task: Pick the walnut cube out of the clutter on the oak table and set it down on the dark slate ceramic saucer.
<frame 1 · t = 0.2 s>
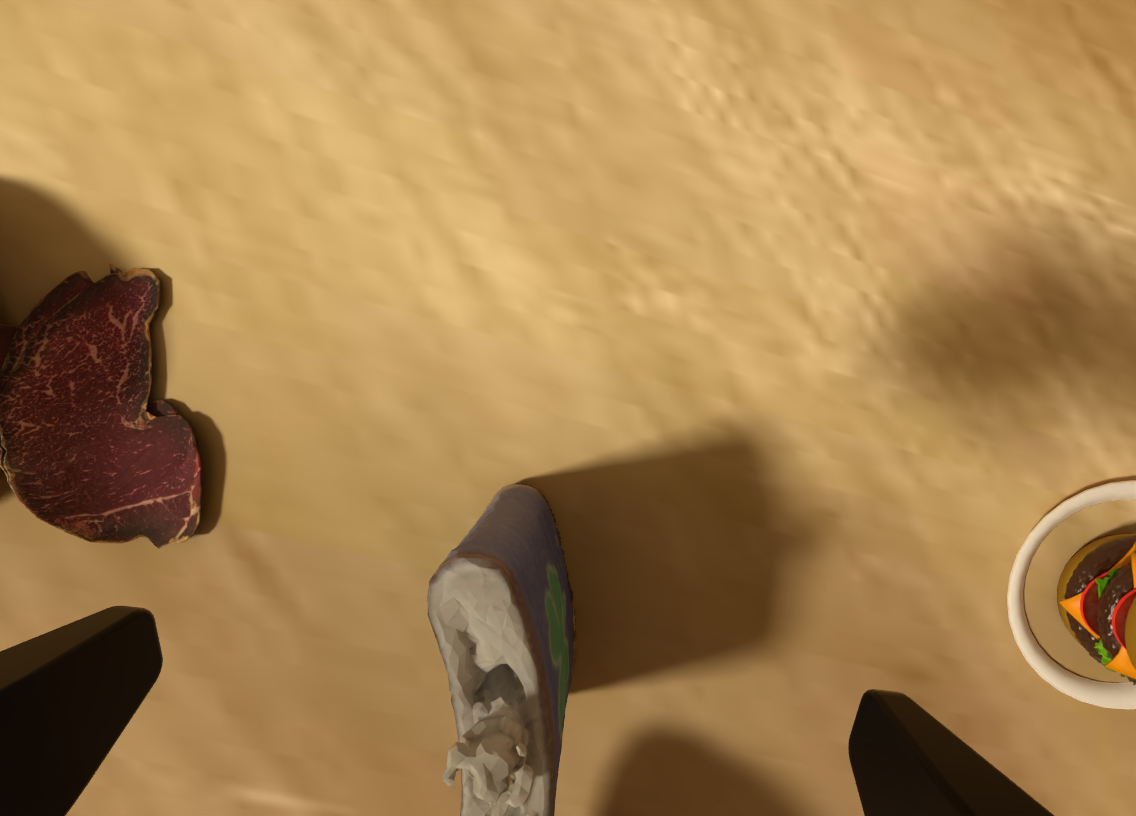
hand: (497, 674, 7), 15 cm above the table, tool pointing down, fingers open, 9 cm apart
flask: (535, 589, 23), on the table
hamburger: (1101, 583, 22), on the table
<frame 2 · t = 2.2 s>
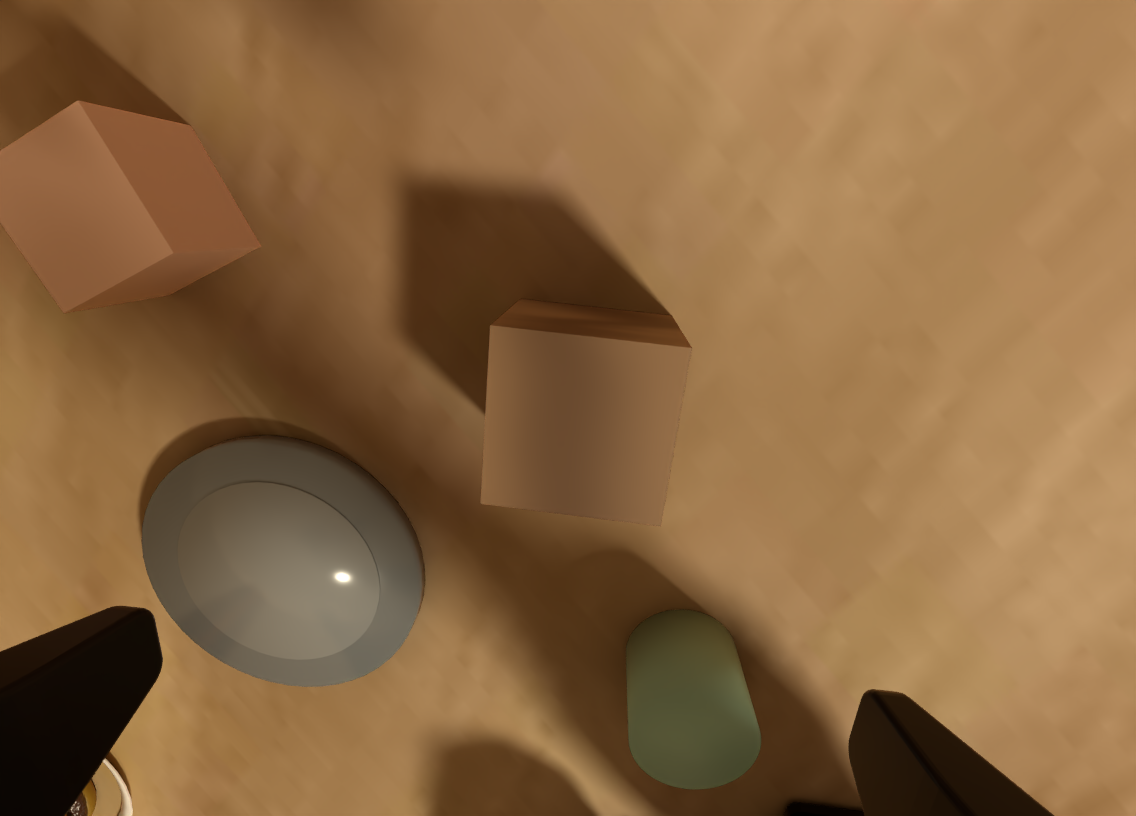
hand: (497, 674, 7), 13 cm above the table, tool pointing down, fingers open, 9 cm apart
saucer: (290, 562, 23), on the table
terracotta block: (180, 214, 19), on the table
green tin: (680, 654, 23), on the table
walnut block: (587, 379, 19), on the table
hamburger: (67, 765, 29), on the table
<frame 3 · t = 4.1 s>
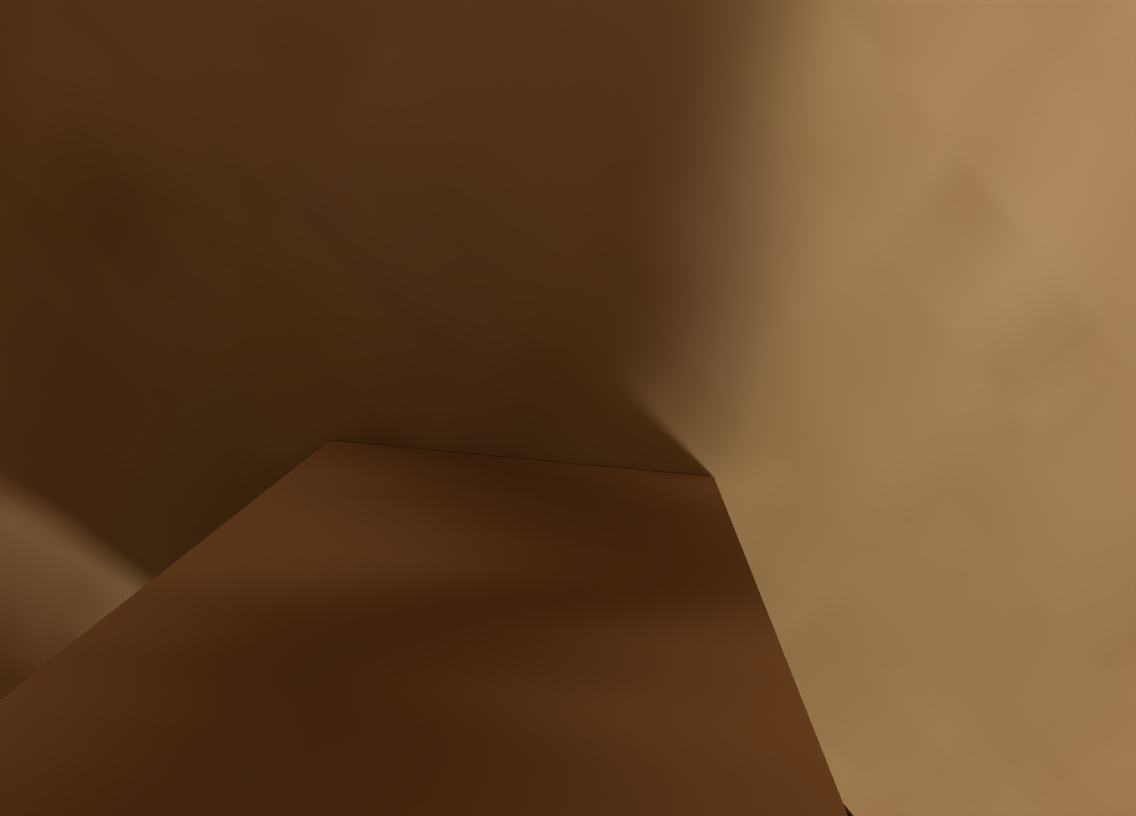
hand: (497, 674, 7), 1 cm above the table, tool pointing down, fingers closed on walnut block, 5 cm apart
walnut block: (511, 618, 8), on the table, touching gripper
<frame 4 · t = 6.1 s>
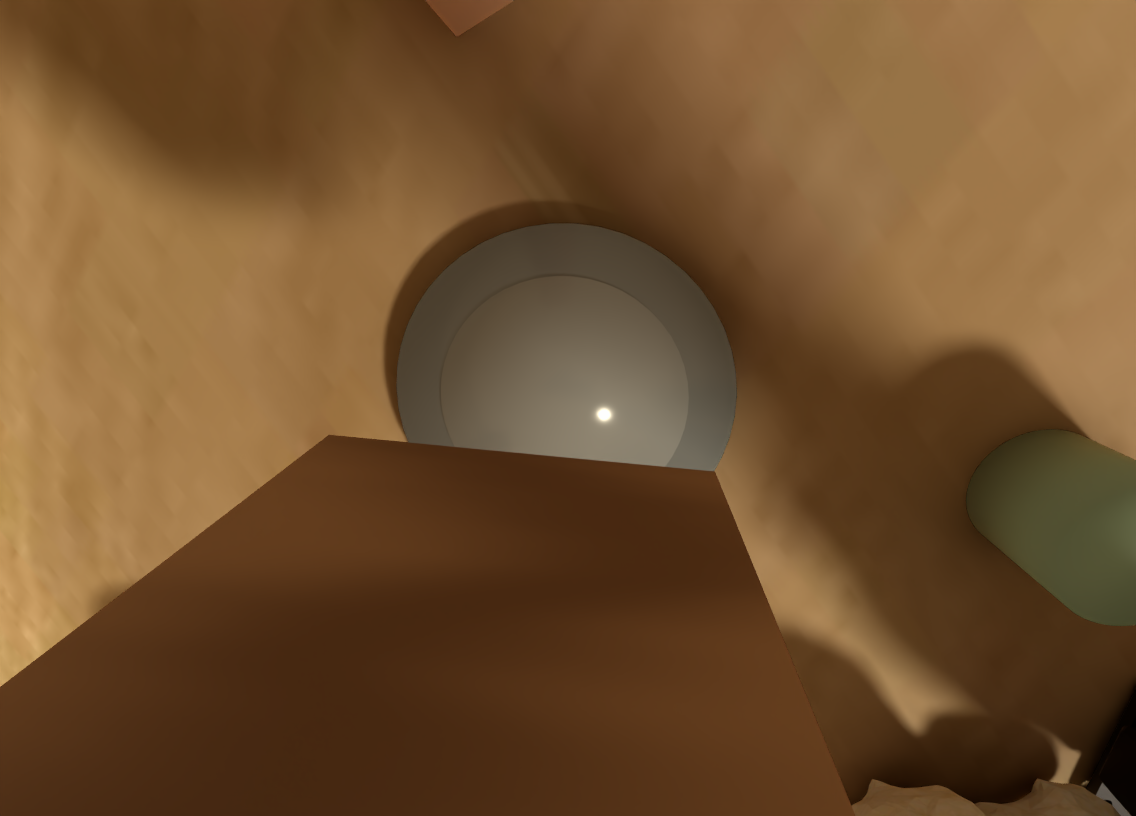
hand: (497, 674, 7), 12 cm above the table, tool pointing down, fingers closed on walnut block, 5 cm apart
saucer: (564, 394, 19), on the table
green tin: (1035, 490, 19), on the table
walnut block: (511, 613, 8), point 11 cm above the table, touching gripper
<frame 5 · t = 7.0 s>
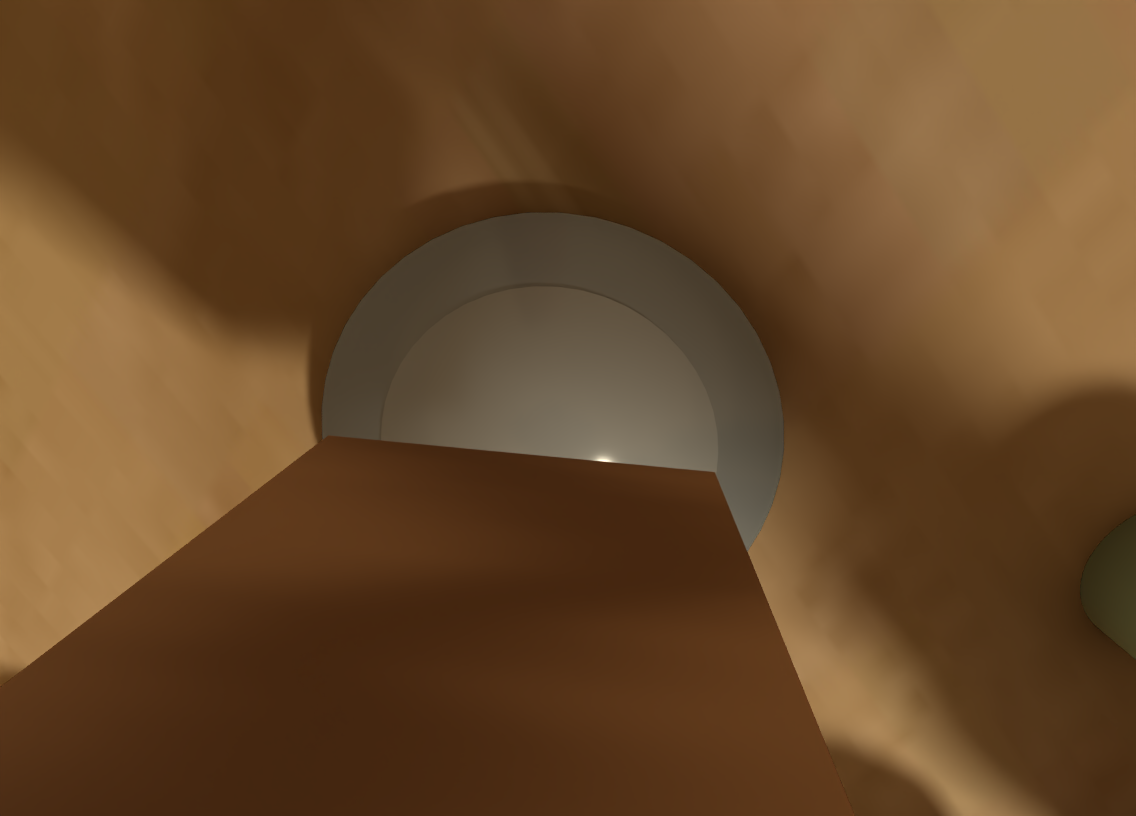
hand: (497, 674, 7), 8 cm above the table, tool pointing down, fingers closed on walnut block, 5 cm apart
saucer: (550, 443, 14), on the table
walnut block: (511, 614, 8), point 6 cm above the table, touching gripper
when the fingers open (3 cm above the table, at t = 8.1 s): walnut block stays where it is, point 2 cm above the table.
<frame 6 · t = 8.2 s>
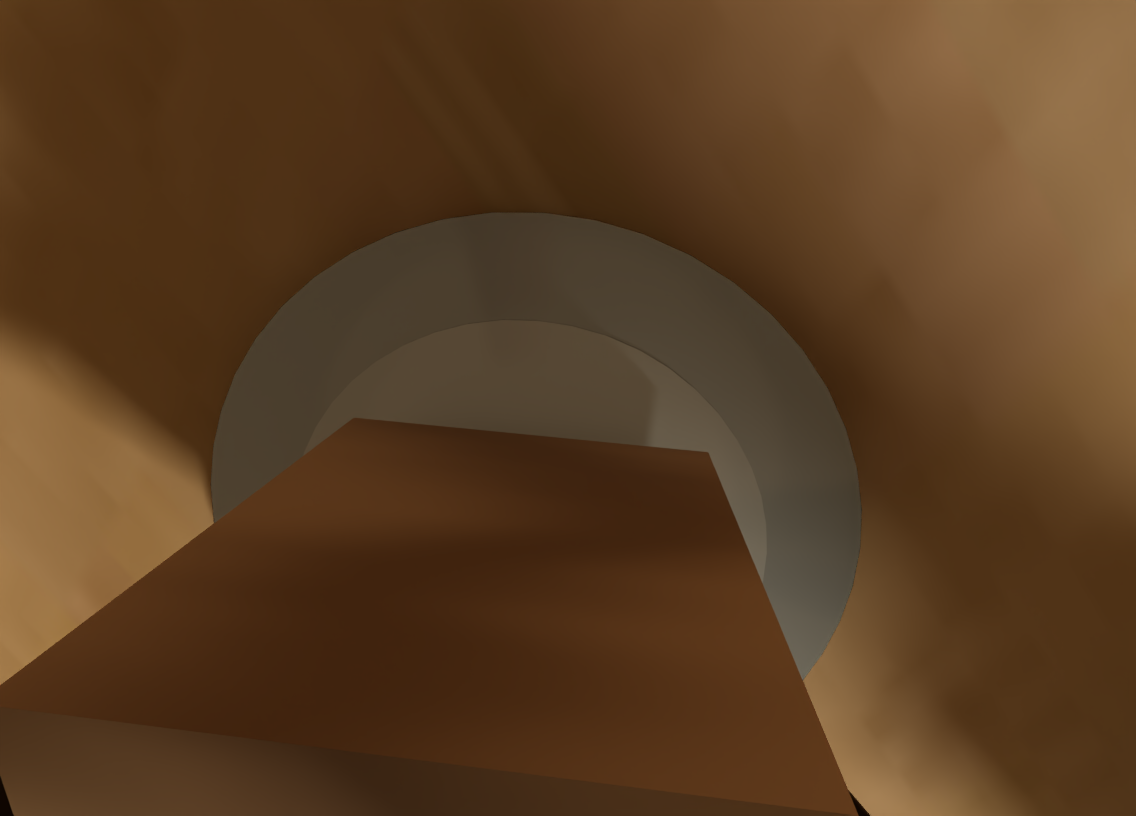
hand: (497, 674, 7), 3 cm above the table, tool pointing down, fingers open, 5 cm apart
saucer: (531, 528, 10), on the table
walnut block: (519, 585, 9), point 2 cm above the table
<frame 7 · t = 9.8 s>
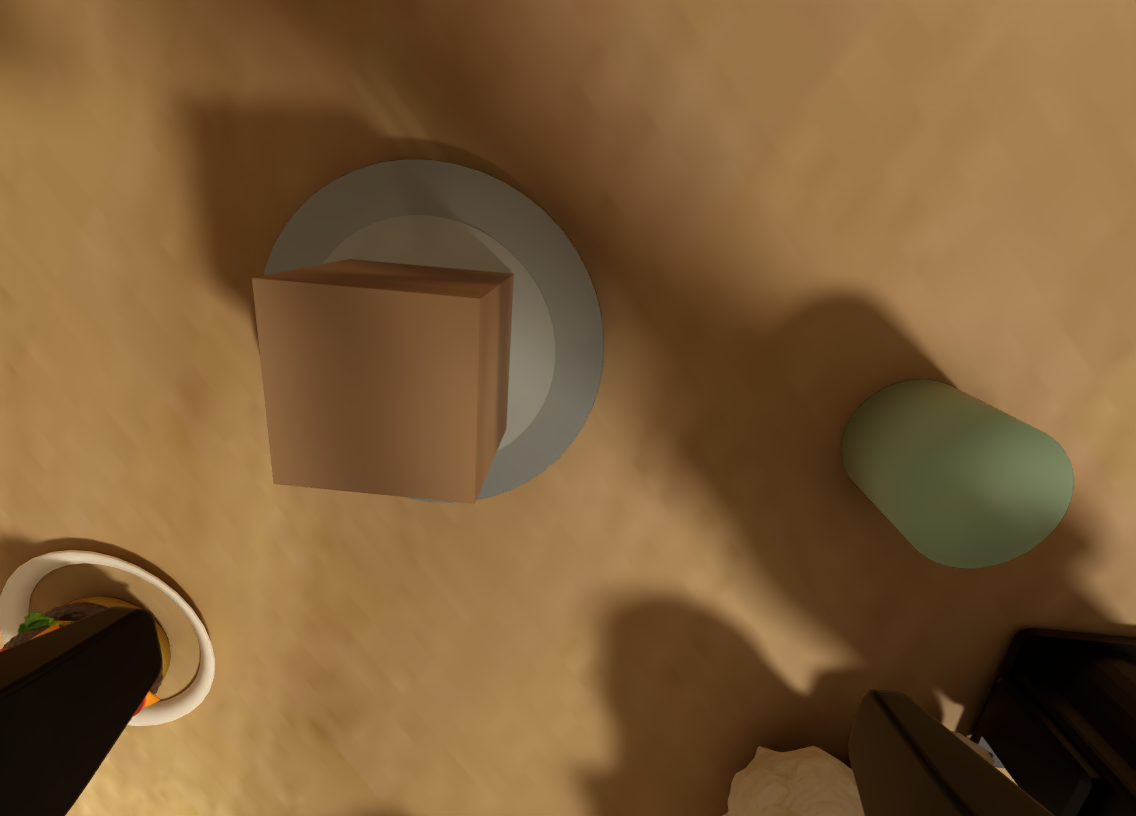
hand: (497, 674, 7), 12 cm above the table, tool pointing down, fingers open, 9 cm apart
saucer: (436, 342, 19), on the table
green tin: (908, 441, 19), on the table
walnut block: (431, 347, 18), point 1 cm above the table, touching saucer
hamburger: (131, 622, 24), on the table
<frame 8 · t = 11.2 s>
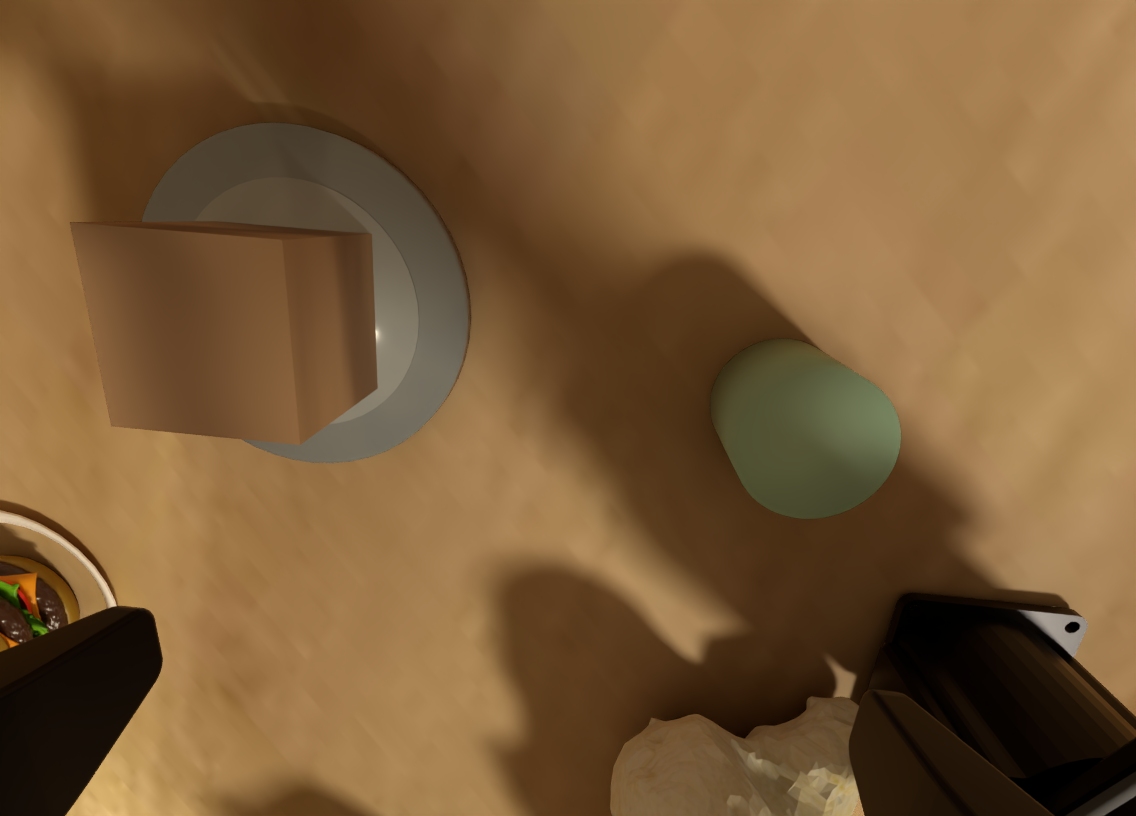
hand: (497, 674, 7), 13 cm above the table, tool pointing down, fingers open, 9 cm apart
saucer: (311, 305, 19), on the table
white lumpy piece: (718, 802, 25), on the table
green tin: (775, 402, 19), on the table
walnut block: (299, 308, 18), point 1 cm above the table, touching saucer
hamburger: (46, 584, 25), on the table
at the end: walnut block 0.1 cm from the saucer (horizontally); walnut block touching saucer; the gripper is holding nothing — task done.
